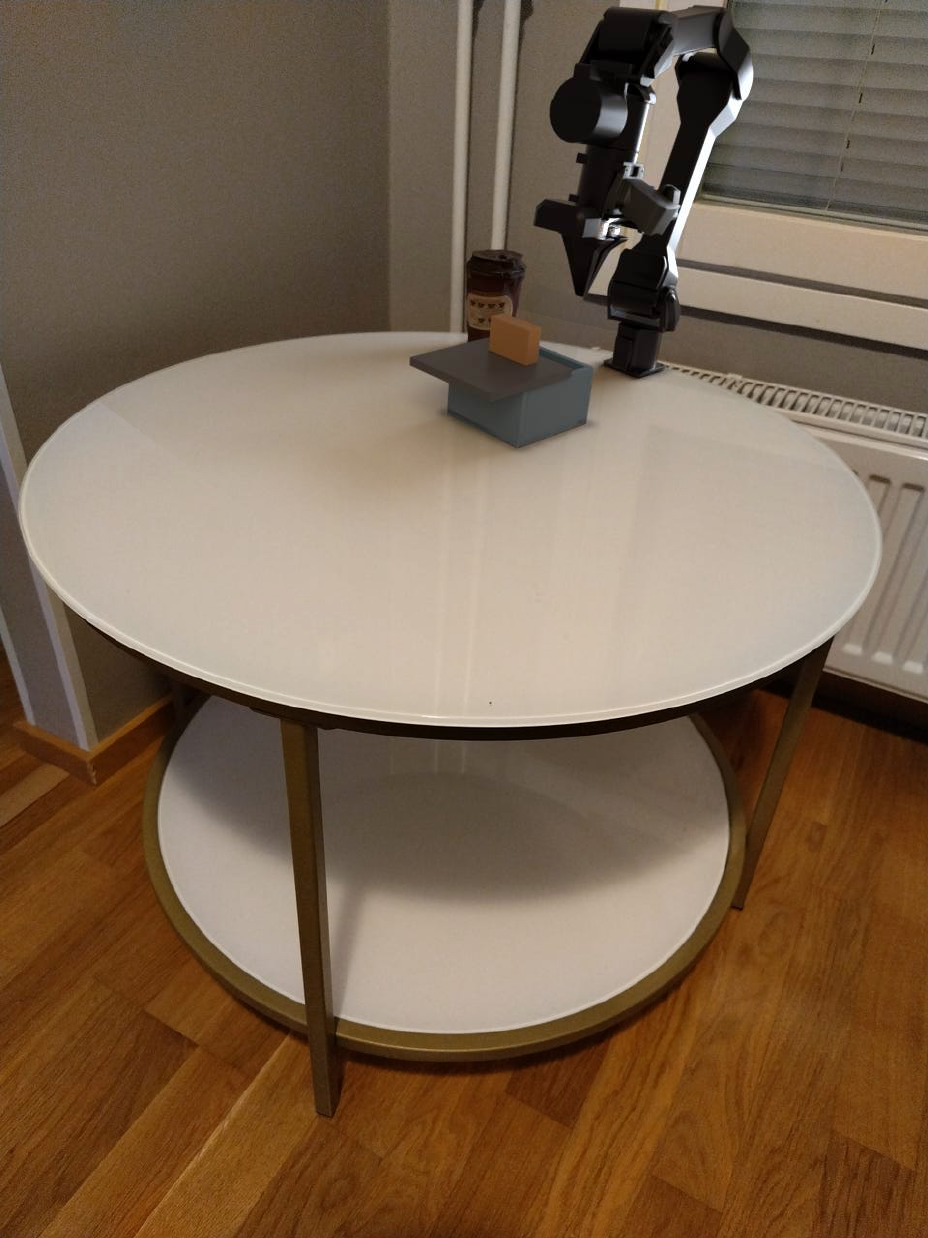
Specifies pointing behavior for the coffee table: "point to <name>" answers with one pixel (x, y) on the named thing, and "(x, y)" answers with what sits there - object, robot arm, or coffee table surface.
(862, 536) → the coffee table surface
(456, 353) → the lid
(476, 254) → the coffee cup
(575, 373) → the bin
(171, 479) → the coffee table surface
